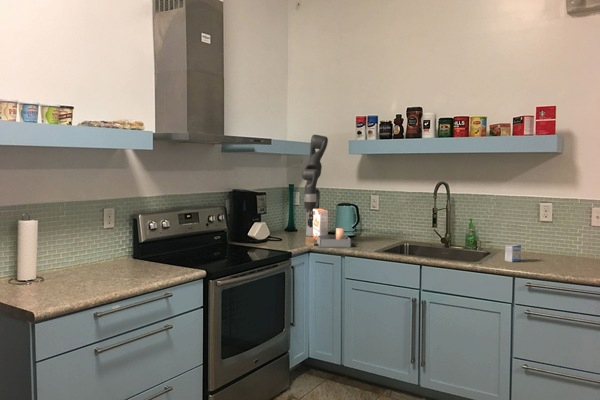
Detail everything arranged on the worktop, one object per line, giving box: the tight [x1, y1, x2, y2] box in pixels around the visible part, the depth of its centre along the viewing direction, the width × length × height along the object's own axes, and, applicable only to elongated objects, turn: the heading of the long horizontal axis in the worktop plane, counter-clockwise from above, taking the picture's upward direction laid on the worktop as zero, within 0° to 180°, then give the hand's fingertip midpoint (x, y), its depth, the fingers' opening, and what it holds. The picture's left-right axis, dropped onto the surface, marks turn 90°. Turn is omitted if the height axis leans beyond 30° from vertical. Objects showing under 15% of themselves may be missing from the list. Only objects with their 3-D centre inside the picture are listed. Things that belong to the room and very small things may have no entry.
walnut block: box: [305, 236, 315, 247], centre depth 318 cm, size 5×5×5 cm
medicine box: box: [504, 243, 522, 263], centre depth 272 cm, size 8×4×9 cm, turn 122°
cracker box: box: [312, 208, 329, 241], centre depth 337 cm, size 14×6×21 cm, turn 19°
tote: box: [316, 234, 352, 249], centre depth 319 cm, size 17×19×5 cm
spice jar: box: [335, 227, 345, 239], centre depth 319 cm, size 5×5×10 cm
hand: (310, 226), depth 318 cm, fingers open, 8 cm apart
